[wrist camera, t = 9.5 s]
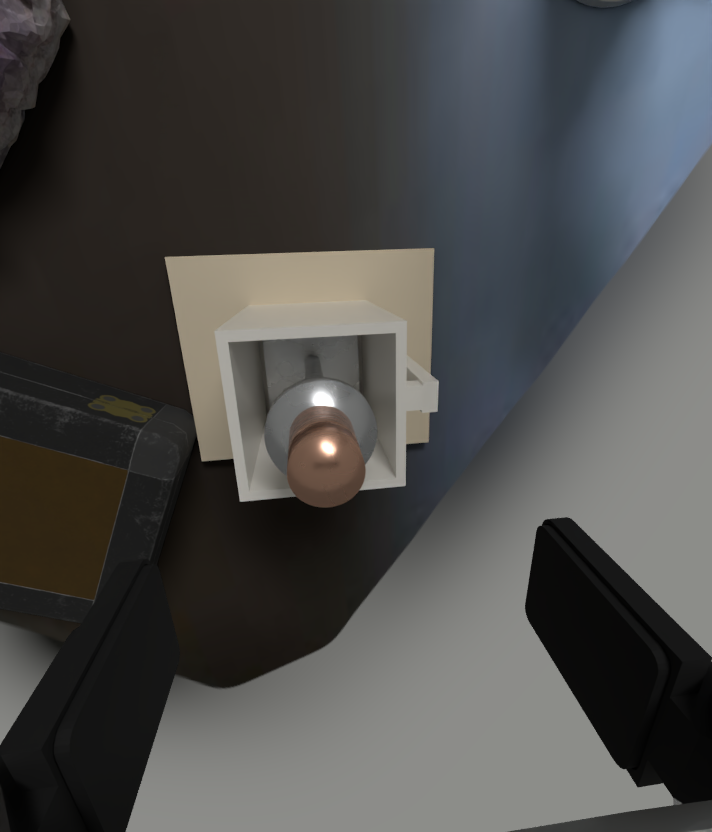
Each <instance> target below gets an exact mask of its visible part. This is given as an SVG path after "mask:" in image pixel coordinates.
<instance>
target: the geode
mask: <svg viewBox="0 0 712 832" xmlns="http://www.w3.org/2000/svg"><path fill="white" fill-rule="evenodd" d="M69 22H70V18H69V16H68V13H67V11H66V9H65V7H64V4H63V2H62V0H0V169H1V166H2V164H3V162H4V160H5V157H6V155H7V153H8V151H9V149H10V147H11V145H12V144H13V143H14V142H16V141H17V138H18V134H19V131H20V129H21V127H22V125H23V123H24V121H25V109H32V108H34V107H35V105H36V99H37V92H38V84H39V83H40V82H41V81H42V80H44V78H45V77H46V75H47V73H48V71H49V69H50V67H51V65H52V63H53V61H54V59H55V56H56V54H57V51H58V49H59V44H60V38H61V36H62V34H63V33H64V31H65V29H66V28H67V26H68V24H69Z"/></svg>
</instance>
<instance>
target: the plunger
mask: <svg viewBox="0 0 712 832" xmlns="http://www.w3.org/2000/svg"><path fill="white" fill-rule="evenodd" d="M262 342H263V351H264V360H265V369H266V377H267V386H268V395H269V404H270V410H269V412H268V415H267V419H266V424H265V431H264V438H265V445H266V449H267V452H268V454H269V456H270V458H271V460H272V461H273V463H274V464H275V466H276V467H277V468H278V469H279V470H280V471H281V472H282V473H284V474H285V475H286V476H287V480H288V484H289V486H290V488H291V490H292V492H293V493H294V494H295V495H296V496H297V497H298V498H299V499H300V500H301V501H303V502H305V503H307V504H309V505H312V506H315V507H323V508H325V507H334V506H338V505H341V504H343V503H345V502H347V501H348V500H350V499H351V498H353V497H354V496H355V495H356V494H357V492H358V491H359V490H360V488H361V487H362V485H363V482H364V479H365V474H366V468H365V464H366V463H367V462H368V460H369V459H370V457H371V455H372V453H373V451H374V448H375V445H376V441H377V423H376V419H375V416H374V413H373V411H372V409H371V407H370V405H369V403H368V402H367V400H366V399H365V397H364V396H363V395H362V394H361V393H360V390H359V359H358V335H349V336H331V337H313V338H295V339H277V340H262Z"/></svg>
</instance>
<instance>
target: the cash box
mask: <svg viewBox="0 0 712 832" xmlns="http://www.w3.org/2000/svg"><path fill="white" fill-rule="evenodd" d="M196 436H197V432H196V426H195V421H194V416H193V415H191V414H190V413H189V412H187V411H186V410H184V409H181V408H178V407H175V406H171V405H168V404H165V403H162V402H159V401H156V400H152V399H149V398H146V397H143V396H140V395H136V394H133V393H130V392H127V391H124V390H120V389H117V388H114V387H111V386H108V385H104V384H101V383H98V382H95V381H91V380H88V379H85V378H82V377H79V376H75V375H72V374H69V373H66V372H63V371H59V370H56V369H53V368H50V367H47V366H43V365H40V364H37V363H34V362H30V361H27V360H24V359H21V358H18V357H14V356H11V355H8V354H5V353H2V352H0V609H5V610H10V611H16V612H22V613H27V614H33V615H38V616H44V617H49V618H55V619H61V620H66V621H72V622H77V623H82V622H83V620H84V618H85V617H86V615H87V614H88V612H89V610H90V609H91V607H92V605H93V604H94V602H95V601H96V599H97V597H98V596H99V594H100V592H101V591H102V589H103V587H104V586H105V584H106V583H107V581H108V579H109V578H110V576H111V574H112V573H113V571H114V570H115V568H116V566H117V565H118V564H119V563H120V562H122V561H130V560H140V559H148V560H149V561H150V563H151V565H154V564H155V565H157V563H158V559H159V556H160V553H161V550H162V547H163V543H164V540H165V537H166V534H167V530H168V527H169V524H170V521H171V517H172V514H173V511H174V508H175V504H176V501H177V498H178V495H179V491H180V488H181V485H182V482H183V478H184V475H185V472H186V469H187V465H188V462H189V459H190V456H191V452H192V449H193V446H194V442H195V439H196Z"/></svg>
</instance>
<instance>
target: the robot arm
mask: <svg viewBox="0 0 712 832" xmlns="http://www.w3.org/2000/svg"><path fill="white" fill-rule="evenodd" d="M577 1H579V2H581V3H583V4H585V5H588V6H593V7H599V8H608V7H617V6H620V5H623V4H626V3H629V2H631V1H633V0H577ZM525 610H526V615H527V618H528V620H529V622H530V624H531V626H532V627H533V629H534V630H535V632H536V634H537V635H538V637H539V638H540V640H541V642H542V643H543V645H544V647H545V648H546V650H547V652H548V653H549V655H550V657H551V658H552V660H553V661H554V663H555V665H556V666H557V668H558V670H559V671H560V673H561V674H562V676H563V678H564V679H565V681H566V683H567V684H568V686H569V688H570V689H571V691H572V693H573V694H574V696H575V697H576V699H577V701H578V702H579V704H580V706H581V707H582V709H583V711H584V712H585V714H586V715H587V717H588V719H589V720H590V722H591V723H592V725H593V727H594V729H595V730H596V732H597V733H598V735H599V737H600V738H601V740H602V742H603V743H604V745H605V746H606V748H607V750H608V751H609V753H610V755H611V756H612V758H613V759H614V761H615V762H616V764H617V765H619V767H620V768H622V769H627V771H628V772H629V774H630V776H631V777H632V779H633V781H634V782H635V784H636V785H637V787H643V786H648V785H654V784H661V783H664V785H665V786H666V788H667V789H668V790H669V792H670V793H671V795H672V796H673V798H674V805H673V806H666V807H659V808H652V809H645V810H638V811H631V812H624V813H618V814H612V815H606V816H600V817H594V818H588V819H582V820H576V821H570V822H564V823H558V824H552V825H546V826H540V827H534V828H528V829H521V830H515V831H510V832H712V662H711V660H712V657H711V656H710V655H709V654H708V653H707V652H706V651H705V650H704V649H703V648H702V647H701V646H700V645H699V644H698V643H697V642H696V641H694V639H693V638H692V637H691V636H690V635H689V634H687V632H685V631H684V630H683V629H682V628H681V627H680V626H679V625H678V624H677V623H676V622H675V621H674V620H673V619H672V618H671V617H670V616H669V615H668V614H667V613H666V612H665V611H664V610H663V609H662V608H661V607H660V606H659V605H658V604H657V603H656V602H655V601H654V600H653V599H652V598H651V597H650V596H649V595H648V594H647V593H646V592H645V591H644V590H643V589H642V588H641V587H640V586H639V585H638V584H637V583H636V582H635V581H634V580H633V579H632V578H631V577H630V576H629V575H628V574H627V573H626V572H625V571H624V570H623V569H622V568H621V567H620V566H619V565H618V564H617V563H616V562H615V561H614V560H613V559H612V558H611V557H610V556H609V555H608V554H607V553H605V552H604V551H603V550H602V549H601V548H600V547H599V546H598V545H597V544H596V543H595V542H594V541H593V540H592V539H591V538H590V537H589V536H588V535H587V534H586V533H585V532H584V531H583V530H582V529H581V528H580V527H579V526H578V525H577V524H576V523H575V522H574V521H573V520H572V519H570V518H567V517H566V518H557V519H547V520H545V521H544V522H543V524H542V526H539V527H538V528H537V532H536V539H535V544H534V551H533V558H532V564H531V571H530V577H529V584H528V590H527V597H526V603H525ZM179 653H180V652H179V644H178V640H177V637H176V633H175V629H174V625H173V621H172V617H171V613H170V609H169V606H168V602H167V598H166V594H165V590H164V586H163V582H162V578H161V574H160V571H159V568H158V566H157V565H155V564H154V565H151V563H150V561H149V560H148V559H140V560H130V561H122V562H120V563H119V564H118V565H117V566H116V568H115V570H114V571H113V573H112V574H111V576H110V578H109V579H108V581H107V583H106V584H105V586H104V587H103V589H102V591H101V592H100V594H99V596H98V597H97V599H96V601H95V602H94V604H93V605H92V607H91V609H90V610H89V612H88V614H87V615H86V617H85V618H84V620H83V622H82V623H81V625H80V627H78V628H76V629H75V630H73V631H72V633H71V634H70V635H69V636H68V638H67V639H66V641H65V642H64V644H63V646H62V647H61V649H60V651H59V652H58V654H57V655H56V657H55V659H54V660H53V662H52V663H51V665H50V666H49V668H48V670H47V671H46V673H45V675H44V676H43V678H42V679H41V681H40V682H39V684H38V686H37V687H36V689H35V690H34V692H33V694H32V695H31V697H30V698H29V700H28V702H27V703H26V705H25V707H24V708H23V710H22V711H21V713H20V714H19V716H18V718H17V719H16V721H15V722H14V724H13V726H12V727H11V729H10V730H9V732H8V733H7V735H6V737H5V738H4V740H3V741H2V743H1V745H0V832H125V831H126V828H127V825H128V822H129V819H130V816H131V812H132V809H133V806H134V803H135V800H136V796H137V793H138V790H139V787H140V784H141V781H142V777H143V774H144V771H145V768H146V765H147V761H148V758H149V755H150V752H151V749H152V746H153V742H154V739H155V736H156V733H157V730H158V726H159V723H160V720H161V717H162V714H163V710H164V707H165V704H166V701H167V698H168V695H169V691H170V688H171V685H172V682H173V679H174V676H175V672H176V669H177V666H178V662H179Z"/></svg>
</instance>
